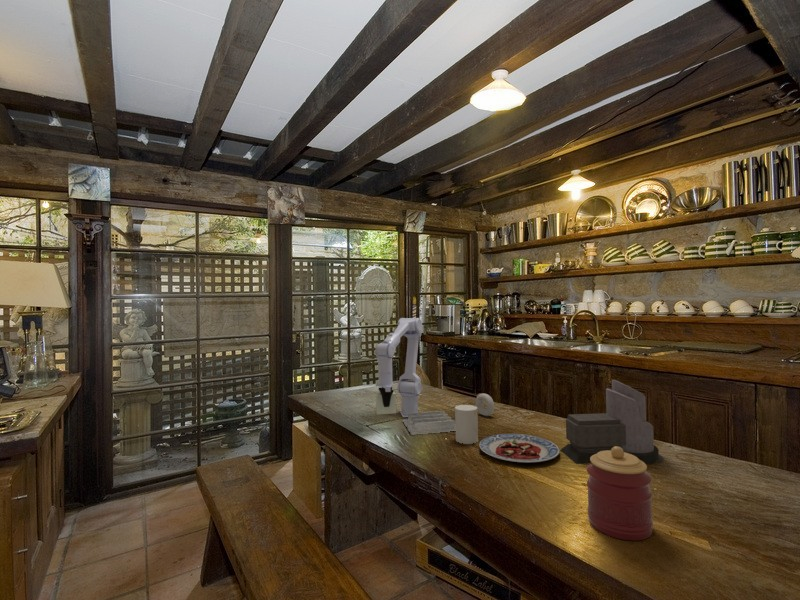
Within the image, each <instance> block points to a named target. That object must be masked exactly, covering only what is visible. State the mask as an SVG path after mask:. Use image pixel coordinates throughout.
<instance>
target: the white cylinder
mask: <svg viewBox="0 0 800 600" xmlns="http://www.w3.org/2000/svg"><path fill="white" fill-rule="evenodd" d="M454 418H455V419H454V420H455V429H456V432H455V442H457V443H458V442H459V444H462V443H463V444H462V445H472V444H473V443H474V444H476V442H477V443H478V442H479V423H478V421H479V420H478V419H479V418H478V410H477V407H476V405H471V404H460V405H459V404H458V405H456V406H455V407H454Z"/></svg>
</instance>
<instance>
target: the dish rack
mask: <svg viewBox="0 0 800 600" xmlns="http://www.w3.org/2000/svg"><path fill="white" fill-rule="evenodd" d="M403 422H404V423H403ZM402 423H403V425H404V426H405V427H407V428H406V429H407V431H408V432H410V433H409V434H411V435H410V436H416V435H415V434H423V435H429V434H428V433H436V434H441V433H440V432H448V433H451V432H450V431H456V429H455V419H452V417H451V416H449V414H448V413H446V411H445V410H434V411H432V410H431V411H423V412H422V411H421V412H420V411H418V413H408V417H407V418H406V419H405V418H404V419H402Z"/></svg>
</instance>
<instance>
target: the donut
mask: <svg viewBox="0 0 800 600" xmlns="http://www.w3.org/2000/svg"><path fill="white" fill-rule="evenodd" d="M484 403H485V404H486V407H485V405H484ZM475 406H476V407H477V412H478V413H479V414H480V415H482V416H483V417H489V416H491V415H493V413H494V411H495V403H494V400H493V398H492V396H490V395H489V394H487V393H480V394H478V395H477V396H476V398H475Z"/></svg>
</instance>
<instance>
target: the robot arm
mask: <svg viewBox="0 0 800 600" xmlns="http://www.w3.org/2000/svg"><path fill="white" fill-rule="evenodd" d="M422 330H423V322H422V320H421V318H419V317H409V318H408V317H406V318H405V317H400V318H399V320H397V327H396V328H395V330H394V331H393V332H389V333H388V335H387V336H386V337H385V339H384V340H383V341H382V342H379V343H378V344H376V347H375V350H374V353H375V356H376V361H377V364H378V365H377V367H378V370H377V371H378V383H375V386H376V387H378V390H379V393H381V395H382V399H383V405H384V407H389V405H390V400H391V396H392V393H394V389H393V386H394V383H393V357H394V355H395V353H396V348H397V347H398V345H399V344H400V343H401V338H402V337H403V336H404V337H406V338H407V345H406V346H407V347H406V356H405V364H404V365H405V367H404V373H403V374H402V375H400V376H399V380H398V383H397V392H398V394H400V396H401V398H400V399H401V400H400V401H401V410H399V413H400V415H401V416H402V418H408V413H418V412H419V401H418V400H419V399H418V397H419V395H420V394H421V392H422V379H421V378H420V376H419V375H418V374H417V362H418V352H419V351H418V349H419V341H420V338H421V336H422V333H423V331H422Z"/></svg>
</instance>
